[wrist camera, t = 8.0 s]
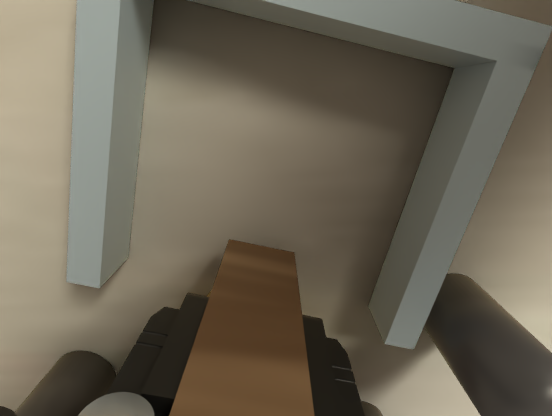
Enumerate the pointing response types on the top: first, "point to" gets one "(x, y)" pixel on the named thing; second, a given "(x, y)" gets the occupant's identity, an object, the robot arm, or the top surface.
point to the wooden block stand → (249, 341)
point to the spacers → (452, 345)
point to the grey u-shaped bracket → (338, 24)
